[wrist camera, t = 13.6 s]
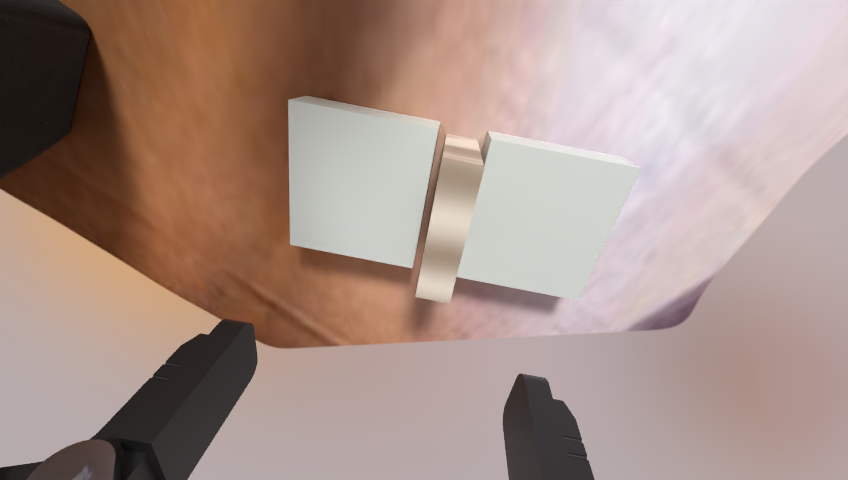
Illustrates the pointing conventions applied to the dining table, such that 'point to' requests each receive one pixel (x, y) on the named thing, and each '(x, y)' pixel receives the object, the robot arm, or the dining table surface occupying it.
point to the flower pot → (37, 76)
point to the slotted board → (408, 185)
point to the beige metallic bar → (450, 217)
